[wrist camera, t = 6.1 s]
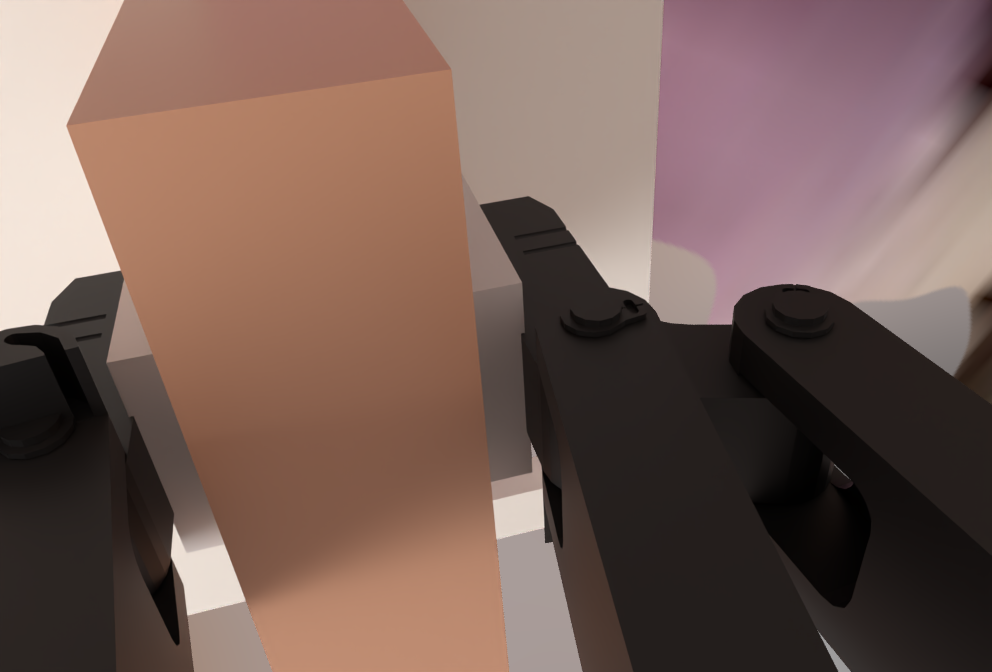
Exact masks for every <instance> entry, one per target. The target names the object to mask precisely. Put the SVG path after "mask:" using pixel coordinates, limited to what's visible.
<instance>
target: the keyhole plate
mask: <svg viewBox="0 0 992 672" xmlns="http://www.w3.org/2000/svg"><path fill="white" fill-rule="evenodd" d="M663 6H664V0H0V331H2V330H5V329H10V328H16V327H23V326H29V325H44V323H45V320H46V317H47V314H48V311H49V308H50V305H51V302H52V301H53V300H54V299H55V298H56V297H57V296H58V295H59V294H60V293H61V292H62V291H63V290H64V289H65V288H66V287H67V286H68V285H69V284H70V283H71V282H72V281H73V280H74V279H75V278H81V277H87V276H92V275H98V274H104V273H109V272H115V271H121V272H122V275H123V277H124V280H125V283H126V285H127V288H128V291H129V293H130V296H131V299H132V301H133V304H134V306H135V309H136V312H137V314H138V317H139V320H140V322H141V325H142V328H143V330H144V333H145V336H146V338H147V341H148V344H149V346H150V349H151V351H152V354H153V357H154V359H155V362H156V365H157V367H158V370H159V373H160V375H161V378H162V381H163V383H164V386H165V388H166V391H167V394H168V396H169V399H170V402H171V404H172V407H173V410H174V412H175V415H176V418H177V420H178V423H179V425H180V428H181V431H182V433H183V436H184V439H185V441H186V444H187V447H188V449H189V452H190V455H191V457H192V460H193V462H194V465H195V468H196V470H197V473H198V476H199V478H200V481H201V484H202V486H203V489H204V492H205V494H206V497H207V499H208V502H209V505H210V507H211V510H212V513H213V515H214V518H215V521H216V523H217V526H218V529H219V531H220V534H221V536H222V539H223V542H224V545H219V546H215V547H211V548H207V549H202V550H198V551H194V552H189V553H186V551H185V549H184V546H183V544H182V541H181V539H180V537H179V534H178V532H177V530H176V527H175V525H174V524H173V537H172V549H171V557H172V560H173V562H174V564H175V567H176V569H177V571H178V573H179V576H180V578H181V580H182V583H183V585H184V592H185V600H186V609H187V615H191V614H195V613H199V612H203V611H207V610H211V609H216V608H220V607H224V606H228V605H232V604H236V603H240V602H244V601H246V602H247V605H248V607H249V610H250V613H251V616H252V618H253V621H254V623H255V626H256V629H257V631H258V634H259V637H260V639H261V642H262V645H263V647H264V650H265V653H266V655H267V658H268V660H269V663H270V666H271V668H272V671H273V672H509V665H508V655H507V644H506V635H505V623H504V613H503V603H502V592H501V582H500V571H499V561H498V550H497V539H501V538H505V537H509V536H513V535H517V534H521V533H525V532H529V531H533V530H537V529H541V528H544V507H543V485H542V466H541V464H540V461H539V459H538V457H537V456H536V457H532V473H528V474H523V475H519V476H515V477H510V478H506V479H502V480H498V481H493V482H491V477H490V466H489V456H488V446H487V435H486V425H485V414H484V404H483V393H482V383H481V373H480V362H479V352H478V341H477V331H476V320H475V310H474V299H473V289H472V279H471V268H470V258H469V247H468V237H467V226H466V216H465V205H464V195H463V185H462V175H463V176H464V178H465V180H466V182H467V184H468V185H469V187H470V189H471V191H472V193H473V194H474V196H475V198H476V200H477V202H478V204H479V205H480V204H486V203H492V202H498V201H503V200H509V199H515V198H520V197H526V196H530V197H531V198H533V199H535V200H537V201H539V202H541V203H543V204H545V205H547V206H549V207H551V208H552V209H554V210H555V212H556V213H557V215H558V216H559V217H560V219H561V220H562V222H563V223H564V224H565V226H566V230H569V231H570V233H571V234H572V236H573V237H574V239H575V240H576V243H577V245H579V246H580V247H581V248H582V250H583V251H584V253H585V254H586V255H587V257H588V258H589V260H590V261H591V262H592V264H593V265H594V267H595V268H596V269H597V271H598V272H599V274H600V275H601V276H602V278H603V279H604V281H605V282H606V283H607V285H608V286H609V287H610V288H615V289H620V290H625V291H629V292H631V293H633V294H635V295H637V296H639V297H641V298H643V299H645V300H646V301H647V302H648V303H649V290H650V268H651V248H652V229H653V209H654V189H655V168H656V148H657V128H658V108H659V87H660V67H661V47H662V27H663ZM461 173H462V174H461Z"/></svg>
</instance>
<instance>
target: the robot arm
mask: <svg viewBox="0 0 992 672" xmlns="http://www.w3.org/2000/svg"><path fill="white" fill-rule="evenodd" d="M461 174H462V173H461ZM462 185H463V195H464V205H465V216H466V226H467V237H468V247H469V258H470V268H471V279H472V289H473V299H474V310H475V320H476V331H477V341H478V352H479V362H480V373H481V383H482V393H483V404H484V414H485V425H486V435H487V446H488V456H489V466H490V477H491V482H493V481H498V480H502V479H506V478H510V477H515V476H519V475H523V474H528V473H532V454H531V443H532V445H533V447H534V450H535V452H536V454H537V457H538V459H539V461H540V464H541V466H542V485H543V507H544V529H545V543H549V542H553V544H554V548H555V553H556V557H557V562H558V566H559V570H560V575H561V579H562V583H563V588H564V592H565V597H566V601H567V605H568V610H569V614H570V618H571V623H572V627H573V632H574V636H575V640H576V645H577V649H578V653H579V658H580V662H581V666H582V671H583V672H838V670H837V668H836V666H835V664H834V662H833V660H832V658H831V656H830V654H829V652H828V650H827V648H826V646H825V645H824V642H823V640H822V639H821V637H820V635H819V633H820V634H821V635H822V636H823V638H824V639H825V640H826V641H827V643H828V644H829V645H830V646H831V648H833V650H834V651H835V652H836V654H837V655H838V656H839V657H840V659H841V660H842V661H843V662H844V663H845V665H846V666H847V667H848V668H849V669H850V671H851V672H992V405H991V404H990V403H989V402H987V401H986V400H985V399H983V398H982V397H980V396H979V395H978V394H976V393H975V392H973V391H972V390H971V389H969V388H968V387H967V386H965V385H964V384H962V383H961V382H960V381H958V380H957V379H956V378H954V377H953V376H951V375H950V374H949V373H947V372H945V371H944V370H943V369H942V368H940V367H939V366H937V365H936V364H935V363H933V362H932V361H931V360H929V359H928V358H926V357H925V356H924V355H922V354H921V353H920V352H918V351H917V350H915V349H914V348H913V347H911V346H910V345H909V344H907V343H906V342H904V341H903V340H902V339H900V338H899V337H897V336H896V335H895V334H893V333H892V332H891V331H889V330H888V329H886V328H885V327H884V326H882V325H881V324H879V323H878V322H877V321H875V320H874V319H873V318H871V317H870V316H868V315H867V314H866V313H864V312H863V311H862V310H860V309H859V308H857V307H856V306H855V305H853V304H852V303H850V302H849V301H847V300H845V299H843V298H841V297H839V296H837V295H835V294H833V293H832V292H829V291H825V290H821V289H817V288H813V287H810V286H807V285H798V284H796V285H793V284H781V285H774V286H767V287H761V288H758V289H756V290H754V291H752V292H749V293H747V294H745V295H743V296H742V298H741V299H740V300H739V301H738V302H737V304H736V305H735V306H734V312H733V320H732V325H687V324H672V323H667V322H662V321H660V319H659V317H658V315H657V313H656V311H655V310H654V309H653V308H652V307H651V306H650V305H649V303H648V302H647V301H646V300H645V299H643V298H641V297H639V296H637V295H635V294H633V293H631V292H629V291H625V290H620V289H615V288H610V287H609V286H608V285H607V283H606V282H605V281H604V279H603V278H602V276H601V275H600V274H599V272H598V271H597V269H596V268H595V267H594V265H593V264H592V262H591V261H590V260H589V258H588V257H587V255H586V254H585V253H584V251H583V250H582V248H581V247H580V246H579V245H577V243H576V240H575V239H574V237H573V236H572V234H571V233H570V231H569V230H566V226H565V224H564V223H563V222H562V220H561V219H560V217H559V216H558V215H557V213H556V212H555V210H554V209H552V208H551V207H549V206H547V205H545V204H543V203H541V202H539V201H537V200H535V199H533V198H531V197H530V196H526V197H520V198H515V199H509V200H503V201H498V202H492V203H486V204H480V205H479V204H478V202H477V200H476V198H475V196H474V194H473V193H472V191H471V189H470V187H469V185H468V184H467V182H466V180H465V178H464V176H463V175H462ZM834 464H835V465H836V466H837V467H838V468H839V469H840V470H841V471H842V472H843V473H845V474H846V475H847V476H848V477H849V478H850V479H851V480H850V479H848V478H847V477H846V476H845V475H843V473H842V472H841V471H839V470H838V469H837V468H836V467H835V466H834ZM173 524H174V525H175V527H176V530H177V532H178V534H179V537H180V539H181V541H182V544H183V546H184V549H185V551H186V553H189V552H194V551H198V550H202V549H207V548H211V547H215V546H219V545H224V542H223V539H222V536H221V534H220V531H219V529H218V526H217V523H216V521H215V518H214V515H213V513H212V510H211V507H210V505H209V502H208V499H207V497H206V494H205V492H204V489H203V486H202V484H201V481H200V478H199V476H198V473H197V470H196V468H195V465H194V462H193V460H192V457H191V455H190V452H189V449H188V447H187V444H186V441H185V439H184V436H183V433H182V431H181V428H180V425H179V423H178V420H177V418H176V415H175V412H174V410H173V407H172V404H171V402H170V399H169V396H168V394H167V391H166V388H165V386H164V383H163V381H162V378H161V375H160V373H159V370H158V367H157V365H156V362H155V359H154V357H153V354H152V351H151V349H150V346H149V344H148V341H147V338H146V336H145V333H144V330H143V328H142V325H141V322H140V320H139V317H138V314H137V312H136V309H135V306H134V304H133V301H132V299H131V296H130V293H129V291H128V288H127V285H126V283H125V280H124V277H123V275H122V272H121V271H115V272H109V273H104V274H98V275H92V276H87V277H81V278H75V279H74V280H73V281H72V282H71V283H70V284H69V285H68V286H67V287H66V288H65V289H64V290H63V291H62V292H61V293H60V294H59V295H58V296H57V297H56V298H55V299H54V300H53V301H52V302H51V305H50V308H49V311H48V314H47V317H46V320H45V323H44V325H29V326H23V327H16V328H10V329H5V330H2V331H0V672H194V668H193V661H192V653H191V643H190V635H189V626H188V618H187V609H186V600H185V592H184V585H183V583H182V580H181V578H180V576H179V573H178V571H177V569H176V567H175V564H174V562H173V560H172V557H171V549H172V537H173ZM817 630H818V631H817ZM818 632H819V633H818Z"/></svg>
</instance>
